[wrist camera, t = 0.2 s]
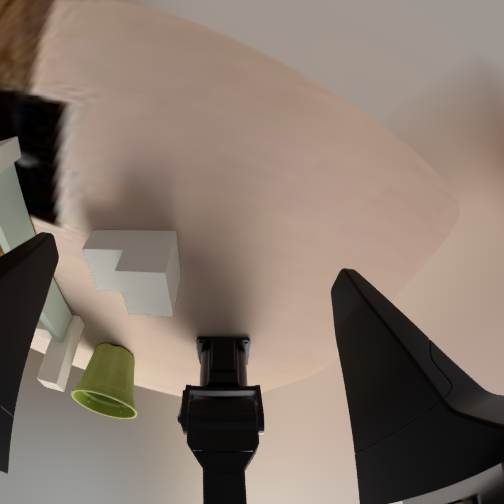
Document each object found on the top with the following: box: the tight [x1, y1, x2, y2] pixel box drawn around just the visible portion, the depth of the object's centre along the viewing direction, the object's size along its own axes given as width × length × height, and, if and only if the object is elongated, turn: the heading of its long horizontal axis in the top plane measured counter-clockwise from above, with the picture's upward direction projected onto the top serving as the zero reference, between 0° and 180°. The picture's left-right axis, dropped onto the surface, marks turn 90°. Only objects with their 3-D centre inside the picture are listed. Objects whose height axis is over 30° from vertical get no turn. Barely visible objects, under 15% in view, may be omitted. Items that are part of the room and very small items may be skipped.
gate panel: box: [0, 163, 72, 342], centre depth 22 cm, size 20×2×4 cm, turn 176°
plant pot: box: [71, 343, 137, 419], centre depth 33 cm, size 9×9×9 cm
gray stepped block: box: [82, 230, 181, 317], centre depth 23 cm, size 5×8×6 cm, turn 86°
